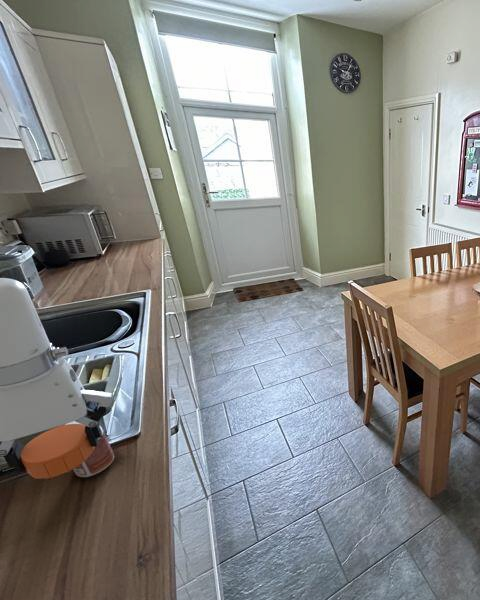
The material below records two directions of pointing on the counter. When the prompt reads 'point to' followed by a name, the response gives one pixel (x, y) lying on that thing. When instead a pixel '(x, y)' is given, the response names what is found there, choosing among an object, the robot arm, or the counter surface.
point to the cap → (56, 451)
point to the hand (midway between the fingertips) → (61, 452)
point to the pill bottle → (96, 458)
